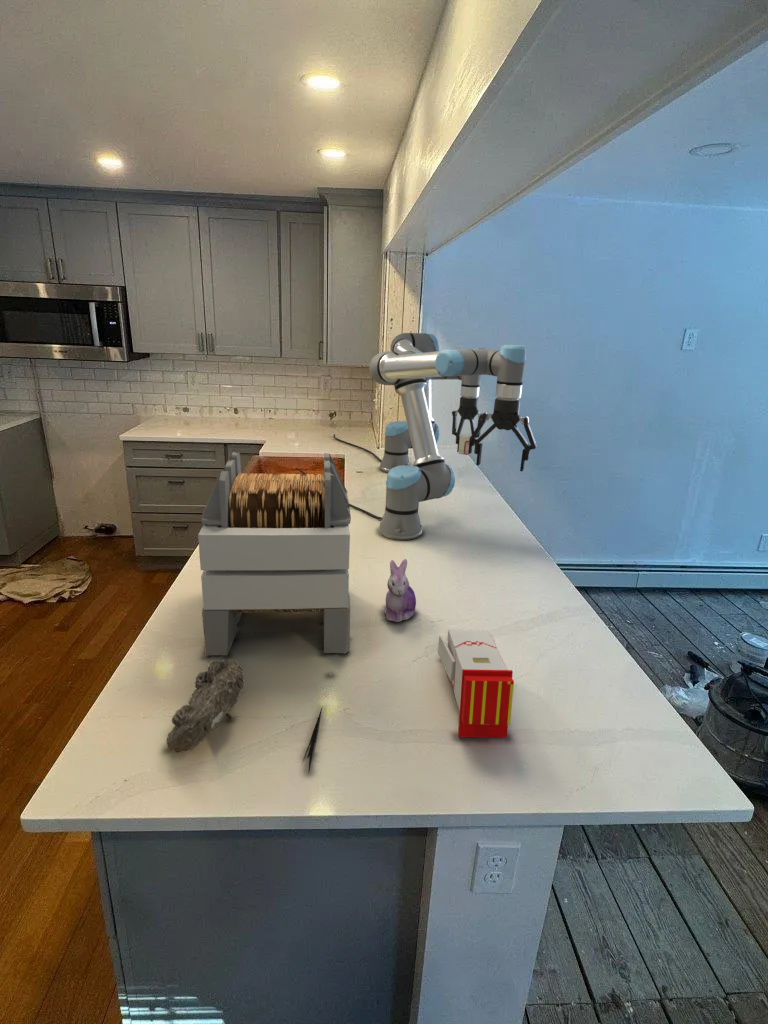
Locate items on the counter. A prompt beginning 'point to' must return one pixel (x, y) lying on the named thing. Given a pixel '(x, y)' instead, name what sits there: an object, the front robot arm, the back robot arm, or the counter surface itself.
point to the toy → (478, 682)
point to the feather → (313, 740)
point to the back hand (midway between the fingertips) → (464, 452)
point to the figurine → (399, 594)
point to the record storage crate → (275, 551)
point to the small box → (464, 444)
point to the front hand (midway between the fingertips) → (499, 467)
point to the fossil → (206, 705)
